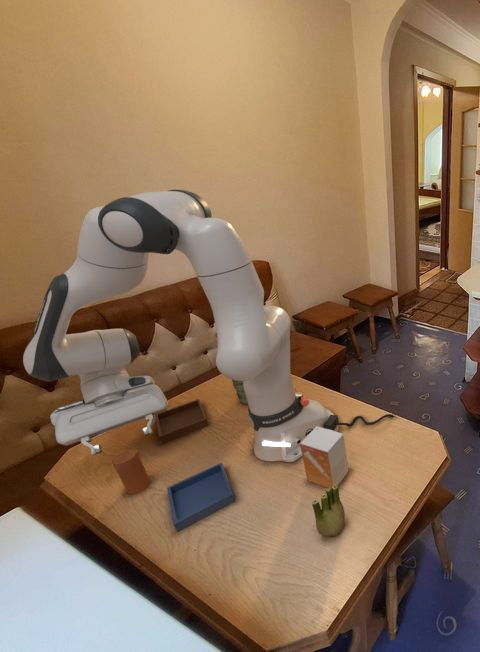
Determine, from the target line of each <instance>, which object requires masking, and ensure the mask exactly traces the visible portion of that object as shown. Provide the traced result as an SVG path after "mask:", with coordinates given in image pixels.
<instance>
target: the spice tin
mask: <svg viewBox="0 0 480 652" xmlns="http://www.w3.org/2000/svg"><path fill="white" fill-rule="evenodd" d="M111 463H112V465H113V467H114V469H115V471H116V473H117V475H118V476H119V479H120V481H121V483H122V484H123V487H124V488H125V489H124V490H125V491H126V493H127V494H129V495H134V494H138V493H141V492H142V491H144V490H146V489H147V488H148V487H149V486H150V484H151V479H150V476H149V474H148V472H147V470H146V468H145V466H144V463H143V461H142V460H141V458H140V455H139V453H138V450H136V449H135V448H130V449H126V450H122V451H121V452H119V453H117V454H116V455H115V456H113V458H112V459H111Z"/></svg>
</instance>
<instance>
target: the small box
mask: <svg viewBox="0 0 480 652" xmlns="http://www.w3.org/2000/svg"><path fill="white" fill-rule="evenodd" d="M300 446H301V451H302V456H301V457H302V461H303V465H304V470H305V474H306V481H307V482H309V483H313V484H316V485H319V486H321V487H324V488H326V489H327V488H331V487H332V486H334V485H338V486H339V485H340V483H341V482H342V481H343V479H344V478H345V477H346V475H347V474H348V472H349V470H350V469H349V463H348V457H347V456H348V455H347V451H346V450H347V449H346V444H345V436H344V433H341V432H339V431H338V432H335V431H332V430H329V429H325V428H321V427H318V426H317V427H316V428H315V429H314V430H313V431H312V432H311V433H310V434H309V435H308V436H307V437H306V438H305V439H304V440H303V441H302V442H301V443H300Z"/></svg>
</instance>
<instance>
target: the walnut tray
mask: <svg viewBox="0 0 480 652" xmlns="http://www.w3.org/2000/svg"><path fill="white" fill-rule="evenodd" d="M154 421H155V425H156V430H157V431H156V432H157V437H158V440H159V442H160V444H161V445H162V444H165V443H167V442H169V441H172V440H175V439H177V438H180V437H182V436H185V435H187V434H189V433H192V432H194V431H197V430H200V429H202V428H205V427H207V426H209V423H208V419H207V416H206V414H205V411H204V408H203V405H202V403H201V400H200V398H197V399H195V400H191V401H189V402H186V403H183V404H180V405H177V406H174V407H172V408H168V409H167V410H166V411H164V412H161V413H158V414H155V415H154Z"/></svg>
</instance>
